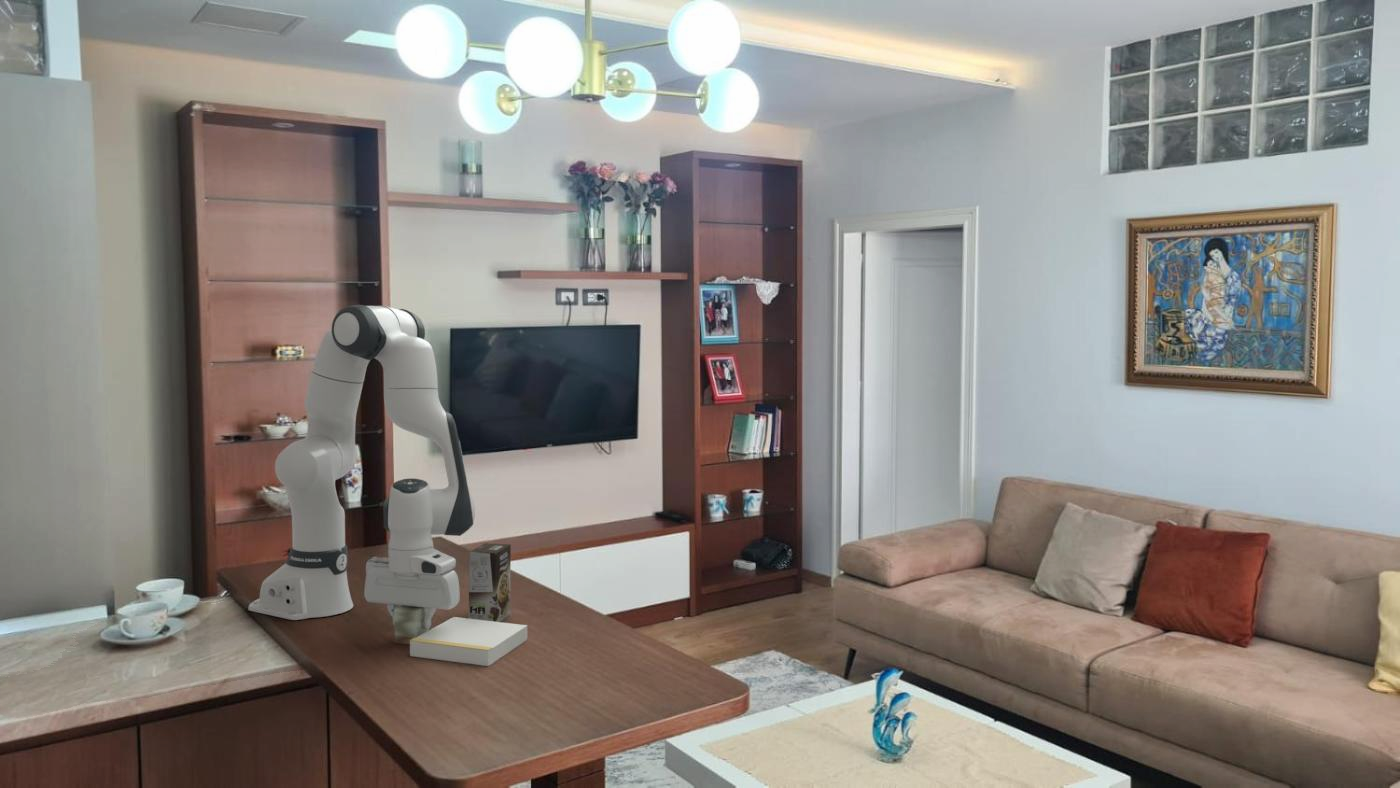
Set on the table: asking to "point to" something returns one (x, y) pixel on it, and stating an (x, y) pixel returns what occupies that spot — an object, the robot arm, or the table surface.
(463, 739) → the table surface
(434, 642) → the block
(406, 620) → the pale green block
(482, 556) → the coffee box
